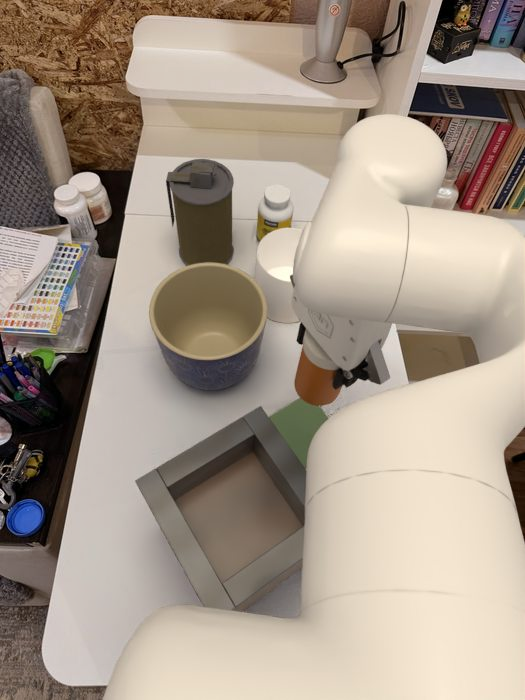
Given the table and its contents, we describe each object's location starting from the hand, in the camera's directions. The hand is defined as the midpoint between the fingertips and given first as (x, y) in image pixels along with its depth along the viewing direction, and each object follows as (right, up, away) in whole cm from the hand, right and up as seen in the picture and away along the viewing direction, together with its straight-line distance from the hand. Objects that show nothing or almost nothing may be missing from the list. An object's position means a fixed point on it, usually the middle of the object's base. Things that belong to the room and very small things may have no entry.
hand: (325, 358), depth 60 cm
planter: (-16, -1, +27) cm, 31 cm away
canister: (-18, +20, +39) cm, 47 cm away
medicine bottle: (0, -3, +6) cm, 7 cm away
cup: (-3, +11, +34) cm, 36 cm away
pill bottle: (-5, +23, +41) cm, 47 cm away
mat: (-1, -12, +21) cm, 24 cm away
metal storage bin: (-11, -26, +13) cm, 31 cm away
